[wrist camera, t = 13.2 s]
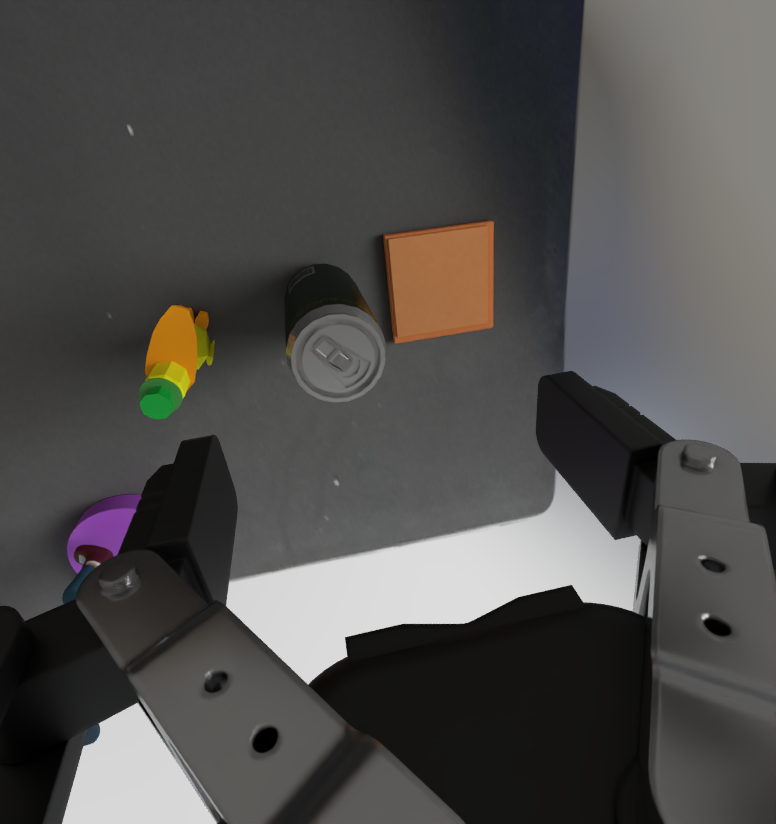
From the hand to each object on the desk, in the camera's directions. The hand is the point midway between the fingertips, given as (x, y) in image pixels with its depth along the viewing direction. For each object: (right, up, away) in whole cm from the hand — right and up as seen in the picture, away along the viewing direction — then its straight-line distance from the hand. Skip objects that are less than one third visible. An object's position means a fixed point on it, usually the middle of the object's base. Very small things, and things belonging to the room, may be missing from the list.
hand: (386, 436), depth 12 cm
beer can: (-5, +9, +24) cm, 26 cm away
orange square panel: (+4, +10, +25) cm, 27 cm away
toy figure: (-14, +7, +23) cm, 28 cm away
